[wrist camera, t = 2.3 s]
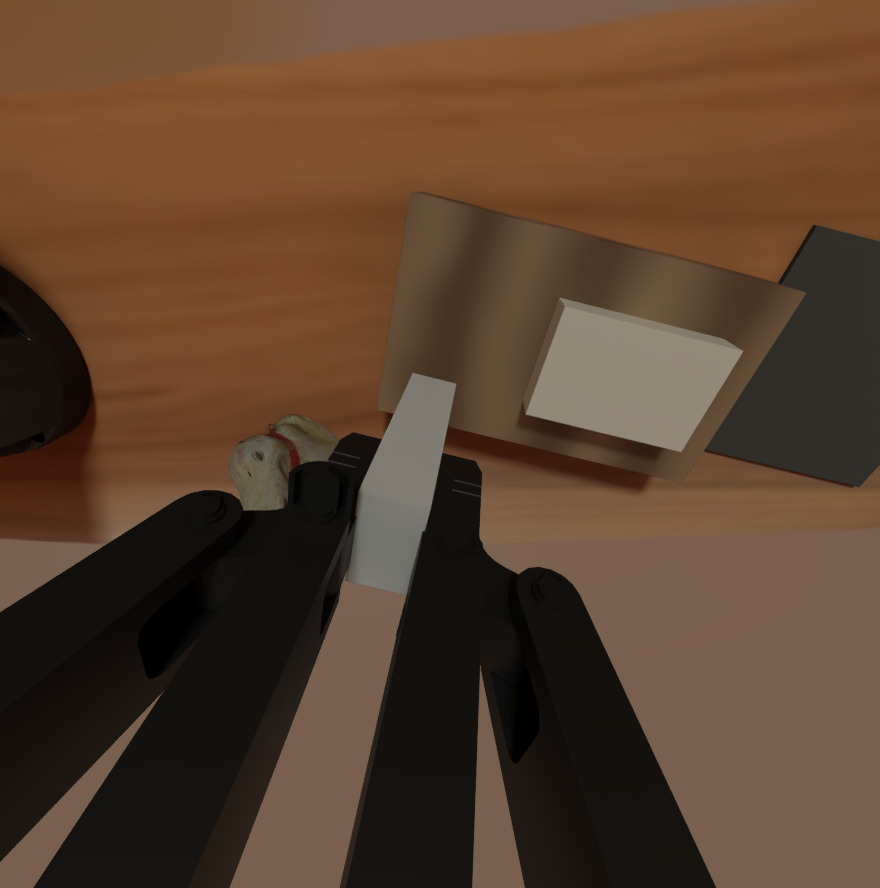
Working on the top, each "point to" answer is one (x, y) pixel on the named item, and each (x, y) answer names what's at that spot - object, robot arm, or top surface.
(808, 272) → the mat
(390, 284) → the top surface
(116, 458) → the top surface
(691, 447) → the brown wooden flat slab
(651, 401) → the block
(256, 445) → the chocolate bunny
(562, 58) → the top surface
